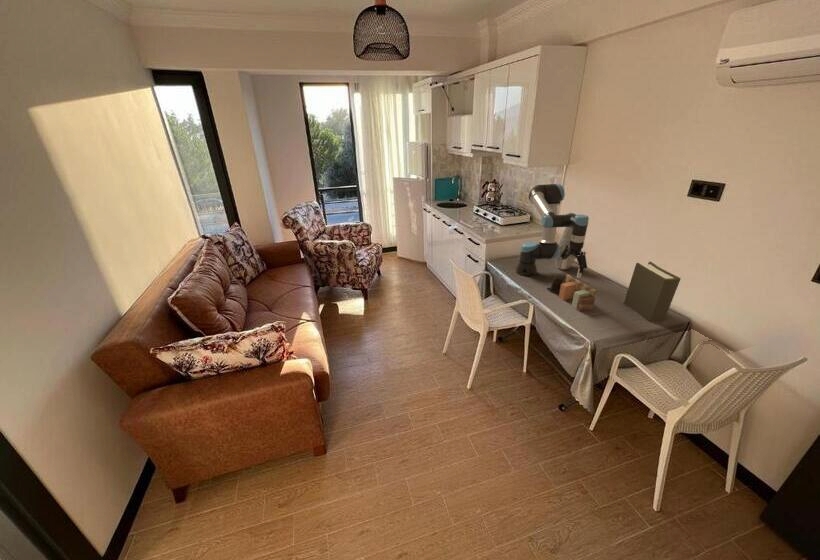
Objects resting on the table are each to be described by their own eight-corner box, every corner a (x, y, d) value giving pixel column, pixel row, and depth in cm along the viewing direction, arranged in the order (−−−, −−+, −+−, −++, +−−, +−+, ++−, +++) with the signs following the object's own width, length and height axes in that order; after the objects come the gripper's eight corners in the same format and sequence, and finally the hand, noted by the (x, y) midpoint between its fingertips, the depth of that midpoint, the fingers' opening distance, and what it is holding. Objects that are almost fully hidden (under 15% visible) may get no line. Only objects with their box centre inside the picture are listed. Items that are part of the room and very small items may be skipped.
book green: (571, 305, 205) (574, 291, 201) (582, 303, 207) (585, 289, 203) (576, 308, 202) (579, 294, 197) (586, 306, 204) (590, 292, 199)
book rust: (558, 297, 215) (561, 283, 211) (568, 295, 217) (571, 281, 213) (562, 300, 211) (565, 286, 207) (573, 298, 213) (576, 284, 209)
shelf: (551, 293, 220) (554, 277, 215) (564, 290, 223) (567, 274, 218) (579, 311, 198) (583, 294, 193) (594, 308, 201) (598, 291, 196)
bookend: (546, 288, 226) (548, 275, 221) (556, 286, 228) (558, 273, 223) (551, 292, 221) (553, 278, 217) (561, 290, 223) (563, 276, 219)
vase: (548, 263, 265) (554, 223, 250) (569, 262, 264) (576, 223, 250) (555, 271, 250) (562, 230, 235) (577, 271, 249) (586, 229, 235)
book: (665, 321, 187) (682, 277, 174) (650, 323, 186) (666, 279, 173) (637, 302, 206) (650, 261, 193) (623, 303, 205) (636, 262, 192)
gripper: (557, 235, 207) (552, 266, 216) (587, 248, 185) (580, 282, 195) (567, 234, 209) (562, 264, 218) (598, 246, 187) (590, 280, 197)
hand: (570, 272), depth 206 cm, fingers open, 13 cm apart
